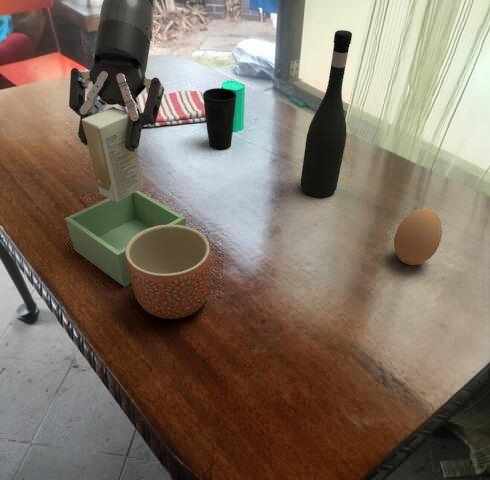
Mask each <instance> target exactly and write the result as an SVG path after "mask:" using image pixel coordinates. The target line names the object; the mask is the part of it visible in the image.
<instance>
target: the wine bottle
mask: <svg viewBox="0 0 490 480" xmlns="http://www.w3.org/2000/svg"><path fill="white" fill-rule="evenodd" d="M352 38H353V33H352V32H351V31H350V30H346V29H340V30H336V31H335V32H334V36H333V48H332V56H331V62H330V70H329V75H328V82H327V87H326V91H325V93H324V96H323V98H322V100H321V102H320V104H319V106H318V108H317V110H316V111H315V113H314V115H313V117H312V119H311V121H310V124H309V126H308V130H307V132H306V138H305V145H304V152H303V153H304V154H303V161H302V167H301V168H302V169H301V176H300V188H301V189H302V191H303V192H304V193H306V194H307V195H309V196H312V197H318V198H320V197H321V198H323V197H328V196H331V195H332V194H334V193H335V191H336V190H337V187H338V183H339V177H340V174H341V173H340V172H341V168H342V162H343V159H344V158H343V157H344V152H345V148H346V142H347V122H346V121H347V120H346V115H345V110H344V105H343V103H344V102H343V83H344V78H345V72H346V66H347V61H348V56H349V49H350V46H351V44H352V40H353V39H352Z"/></svg>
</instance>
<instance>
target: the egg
mask: <svg viewBox="0 0 490 480" xmlns="http://www.w3.org/2000/svg"><path fill="white" fill-rule="evenodd" d="M395 231H396V232H395V234H394V237H393V248H394V252H395V254H396V256H397V258H398V259H399V260H400V261H401V262H402V263H403V264H405V265H409V266H418V265H420V264H423V263H425V262H426V261H428V260H429V259H431V258H432V257H433V256H434V255H435V253H436V252H437V250H438V248H439V247H440V244H441V241H442V237H443V234H442V233H443V228H442V222H441V219H440V217H439V215H438V214H437V212H436V211H435V210H433V209H431V208H428V207H421V208H418V209H414V210H413V211H411V212H410V213H409V214H407V216H406V217H405V218H404V219H403V220H402V221H401V222H400V224H399V226H398V227H397V229H396V230H395Z"/></svg>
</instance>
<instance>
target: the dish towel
mask: <svg viewBox="0 0 490 480" xmlns="http://www.w3.org/2000/svg"><path fill="white" fill-rule="evenodd" d="M203 93H204V92H202V91H200V90H180V91H175V92H169V93H163V97H162V101H161V104H160V108H159V112H158V116H157V120H156V123H155V124H154V125H150V124H148V125H145V126H143V127H144V128H145V127H146V128H148V127H150V128H151V127H152V128H153V127H161V126H167V125H168V126H169V125H170V126H171V125H181V124H190V123H191V124H192V123H201V122H206V116H205V107H204V99H203ZM147 96H148V93H140V94H139V96H138V97H137V101H138V104H139V107H140V110H141V113H143V111H144V107H145V103H146V100H147ZM124 108H125V112H127V113H129V112H128V109H127V107H124Z"/></svg>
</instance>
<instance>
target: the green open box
mask: <svg viewBox="0 0 490 480" xmlns="http://www.w3.org/2000/svg"><path fill="white" fill-rule="evenodd" d="M64 221H65V224H66V227H67V230H68V234H69V237H70V240H71V244H72V247H73V250H74V251H75V252H76V253H77V254H79V255H80V256H81V257H83V258H85V259H86V260H87V261H89V263H91V264H92V265H94V266H95V267H97V269H99V270H100V271H102V272H103V273H105V274H106V275H107V276H109V277H110V278H112V279H113V280H114V281H116V282H117V283H118V284H120V286H122V287H124V288H126V287H128V286H129V285H132V282H131V278H130V275H129V271H128V267H127V263H126V256H125V251H126V247H127V244H128V243H129V241H130V240H131V239H132V238H133V237H134V236H135V235H136V234H138V233H139V232H141V231H143V230H145V229H148V228H151V227H155V226H159V225H182V226H186V227H187V219H186V217H185V216H184V215H182V214H180V213H178V212H176V211H175V210H173V209H171V208H169V207H168V206H166V205H164V204H162V202H159V201H158V200H156V199H155V198H152V197H150V196H149V195H147V194H145V193H144V192H142V191H140V190H138V191H136V192H134V193H133V194H131V195H129V196H127V197H125V198H123V199H122V200H120V201H118V202H114V201H112V200H111V199H109V198H105V199H104V200H102V201H100V202H96V203H94V204H93V205H90V206H89V207H86V208H84V209H82V210H80V211H77V212H76V213H73V214H71V215H69V216H67V217H65V218H64Z"/></svg>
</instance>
